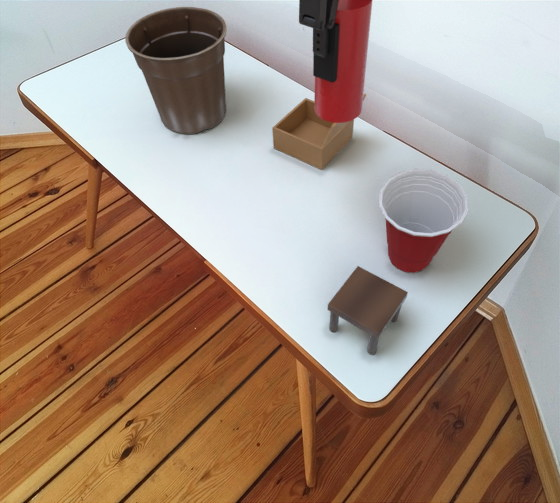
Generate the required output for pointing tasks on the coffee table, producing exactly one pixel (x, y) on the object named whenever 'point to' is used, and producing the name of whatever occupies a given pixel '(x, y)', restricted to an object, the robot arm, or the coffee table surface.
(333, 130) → the flap
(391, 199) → the plastic cup
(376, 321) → the stool
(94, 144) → the coffee table surface
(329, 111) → the can
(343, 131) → the carton
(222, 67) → the plant pot
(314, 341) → the coffee table surface
